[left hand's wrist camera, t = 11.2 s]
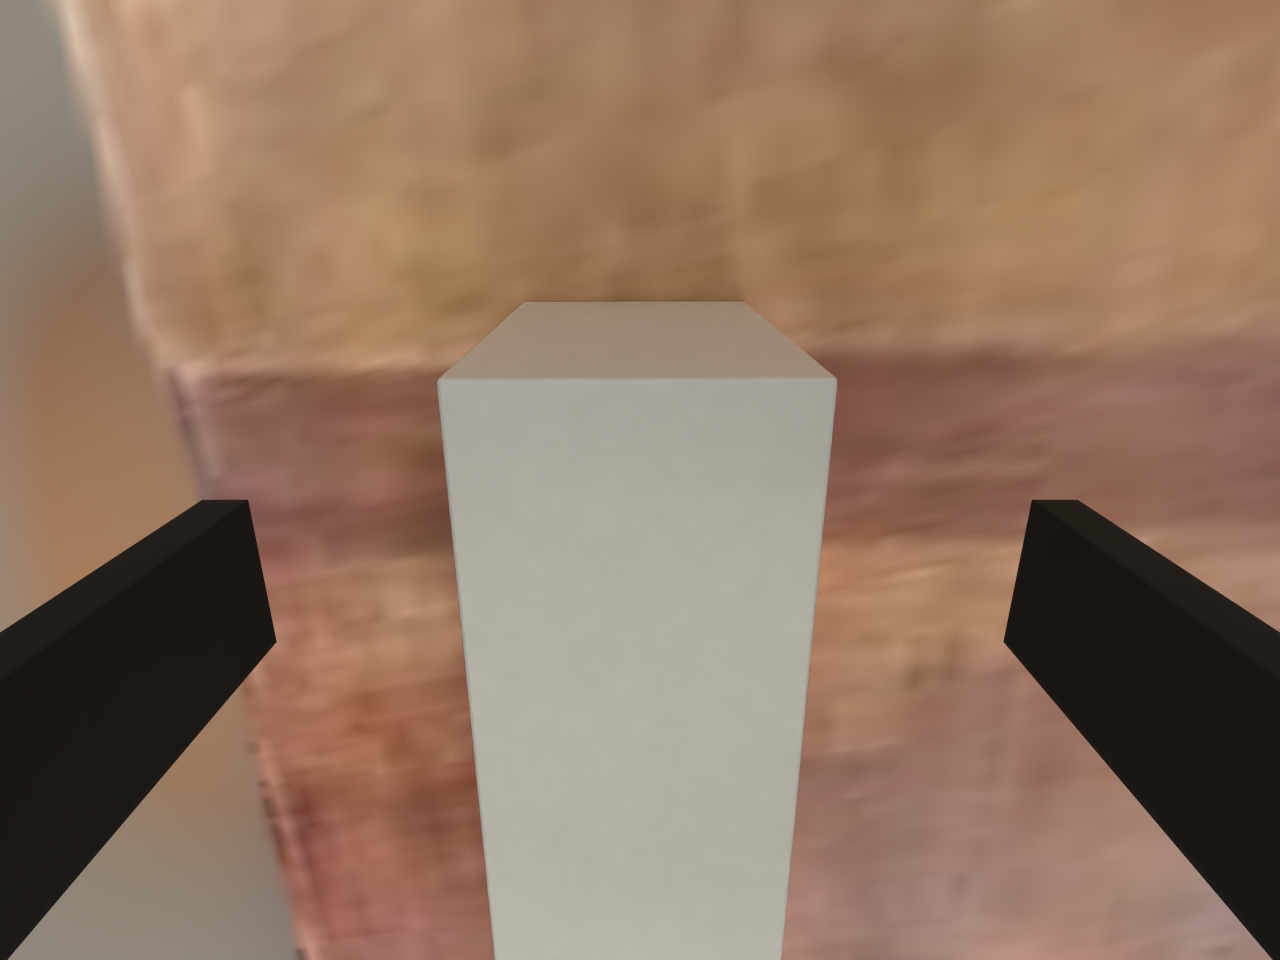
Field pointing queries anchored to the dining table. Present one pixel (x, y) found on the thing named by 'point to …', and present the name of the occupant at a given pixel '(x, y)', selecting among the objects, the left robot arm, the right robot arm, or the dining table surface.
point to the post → (637, 620)
